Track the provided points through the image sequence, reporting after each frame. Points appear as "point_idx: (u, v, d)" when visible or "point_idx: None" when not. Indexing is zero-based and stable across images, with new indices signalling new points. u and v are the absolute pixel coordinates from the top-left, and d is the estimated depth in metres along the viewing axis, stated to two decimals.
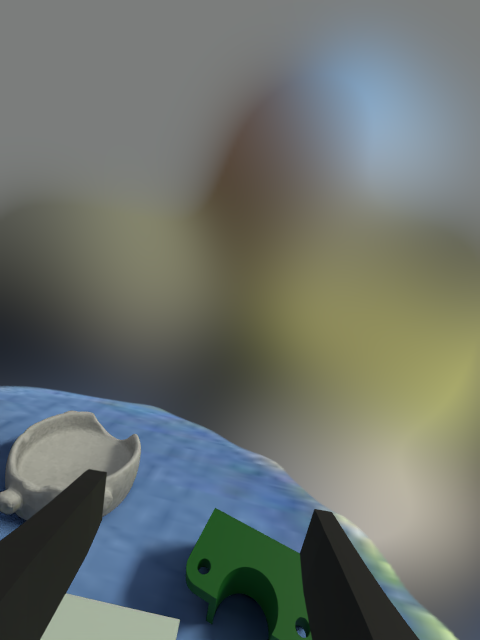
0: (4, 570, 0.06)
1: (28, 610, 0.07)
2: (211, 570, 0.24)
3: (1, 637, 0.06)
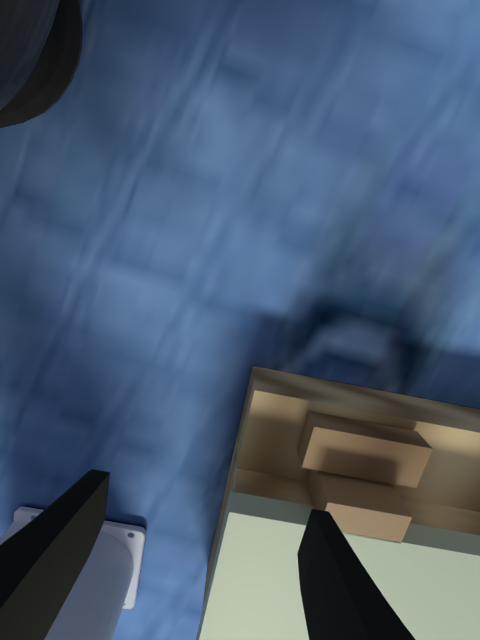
0: (9, 571, 0.06)
1: (32, 610, 0.07)
2: None
3: (6, 638, 0.06)
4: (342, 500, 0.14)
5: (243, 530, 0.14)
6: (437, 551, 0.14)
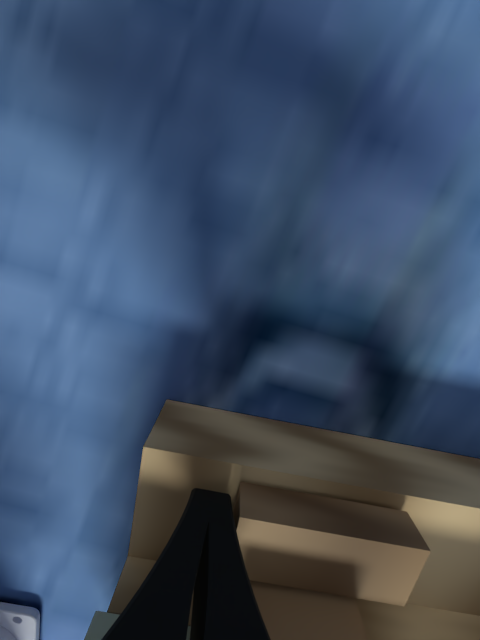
0: (174, 598, 0.06)
1: None
2: None
3: None
4: None
5: None
6: None
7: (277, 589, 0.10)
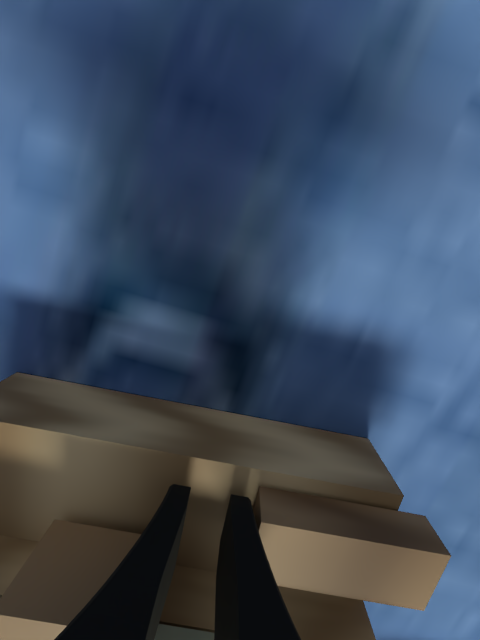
0: (139, 592, 0.06)
1: (152, 629, 0.07)
2: None
3: None
4: (26, 607, 0.08)
5: None
6: None
7: (74, 557, 0.10)
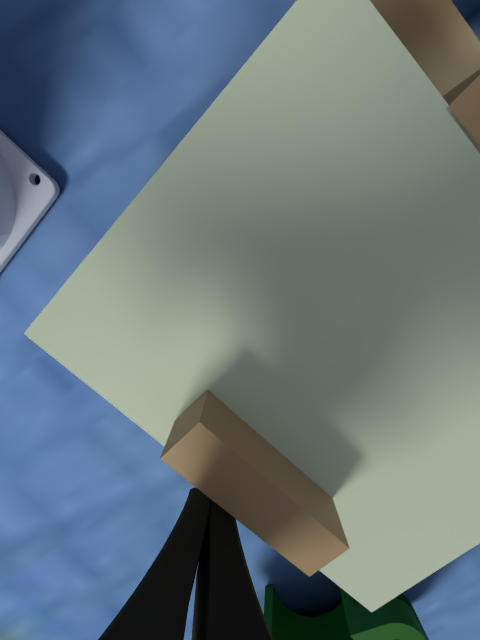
0: (171, 598, 0.06)
1: None
2: None
3: None
4: None
5: (329, 22, 0.07)
6: None
7: None
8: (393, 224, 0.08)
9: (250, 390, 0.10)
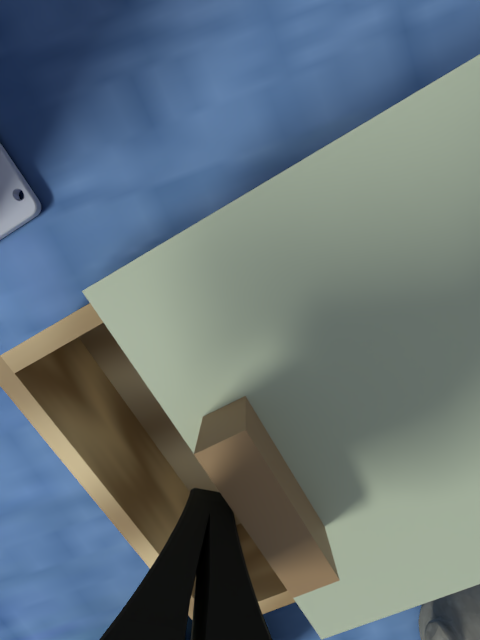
0: (172, 597, 0.06)
1: None
2: None
3: None
4: None
5: None
6: None
7: None
8: (468, 294, 0.09)
9: (285, 407, 0.10)
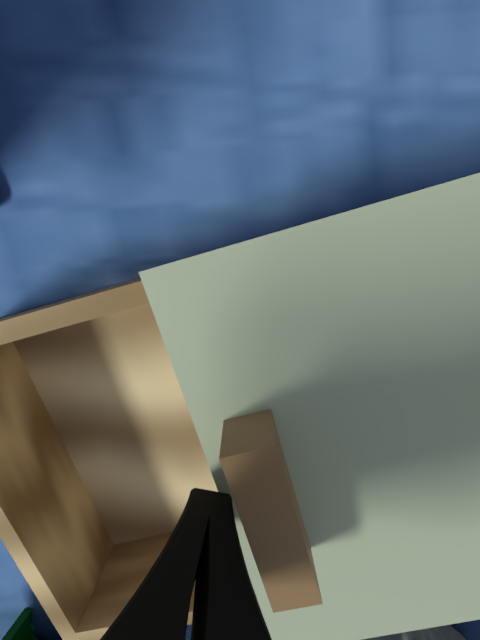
0: (172, 598, 0.06)
1: None
2: None
3: None
4: None
5: None
6: None
7: None
8: None
9: (305, 428, 0.10)
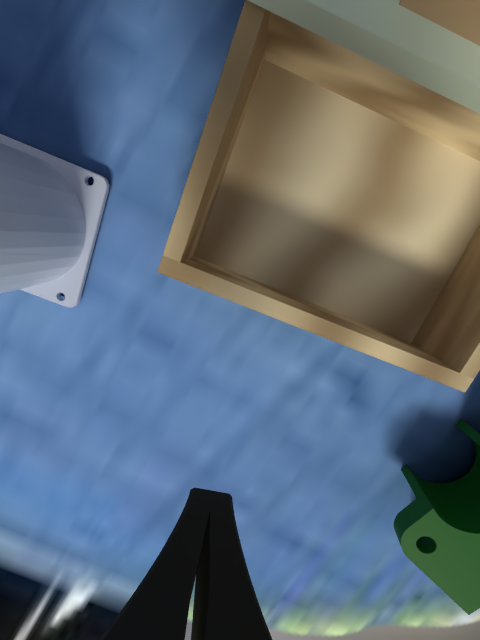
0: (172, 598, 0.06)
1: None
2: None
3: None
4: None
5: None
6: None
7: None
8: None
9: None
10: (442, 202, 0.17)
